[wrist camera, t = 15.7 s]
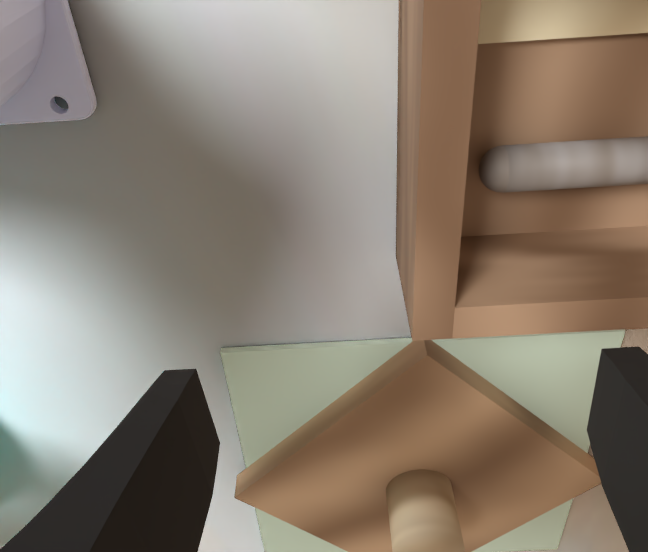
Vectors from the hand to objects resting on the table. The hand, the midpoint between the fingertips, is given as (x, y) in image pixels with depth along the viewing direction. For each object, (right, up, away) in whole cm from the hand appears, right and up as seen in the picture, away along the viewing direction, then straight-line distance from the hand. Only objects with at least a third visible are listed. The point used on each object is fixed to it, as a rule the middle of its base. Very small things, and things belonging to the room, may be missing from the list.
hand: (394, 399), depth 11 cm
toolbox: (+7, +8, +7) cm, 13 cm away
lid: (+3, -7, +18) cm, 19 cm away
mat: (+3, -7, +18) cm, 19 cm away
